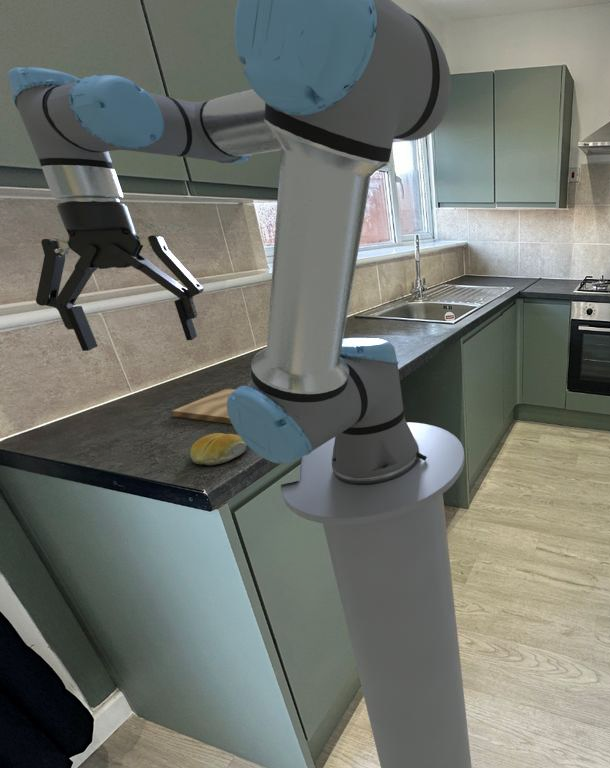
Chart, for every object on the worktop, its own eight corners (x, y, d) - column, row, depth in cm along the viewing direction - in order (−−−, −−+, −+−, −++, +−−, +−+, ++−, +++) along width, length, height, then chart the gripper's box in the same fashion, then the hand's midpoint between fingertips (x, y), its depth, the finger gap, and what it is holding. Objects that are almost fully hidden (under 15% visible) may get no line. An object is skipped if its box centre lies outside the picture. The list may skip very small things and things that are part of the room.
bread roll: (219, 442, 83) (214, 424, 82) (256, 447, 81) (250, 428, 80) (179, 464, 76) (172, 445, 75) (218, 469, 74) (212, 450, 72)
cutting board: (290, 400, 103) (289, 394, 102) (242, 425, 90) (240, 419, 90) (227, 393, 108) (226, 388, 108) (174, 416, 96) (171, 410, 95)
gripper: (200, 202, 67) (235, 329, 75) (-5, 204, 59) (58, 347, 67) (185, 199, 61) (225, 339, 69) (-48, 201, 53) (27, 360, 60)
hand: (143, 343), depth 68 cm, fingers open, 13 cm apart
